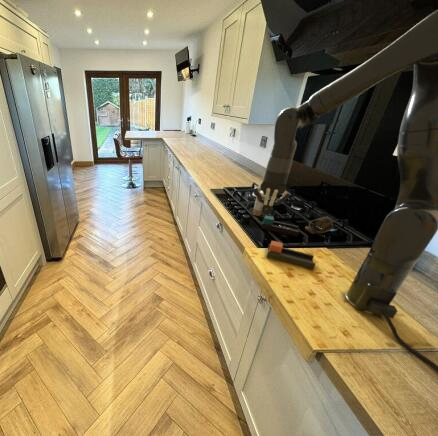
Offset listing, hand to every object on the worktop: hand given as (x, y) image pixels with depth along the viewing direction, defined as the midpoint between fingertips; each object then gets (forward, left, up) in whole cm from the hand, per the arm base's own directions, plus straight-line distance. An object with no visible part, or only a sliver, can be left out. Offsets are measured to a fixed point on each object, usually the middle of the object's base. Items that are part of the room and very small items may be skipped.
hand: (265, 213), depth 91 cm
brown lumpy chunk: (+35, -25, -17) cm, 46 cm away
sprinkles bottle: (+40, +3, -17) cm, 44 cm away
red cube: (0, -7, -15) cm, 17 cm away
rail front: (0, -13, -17) cm, 21 cm away
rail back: (+26, -9, -17) cm, 32 cm away
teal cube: (+26, -3, -15) cm, 30 cm away
